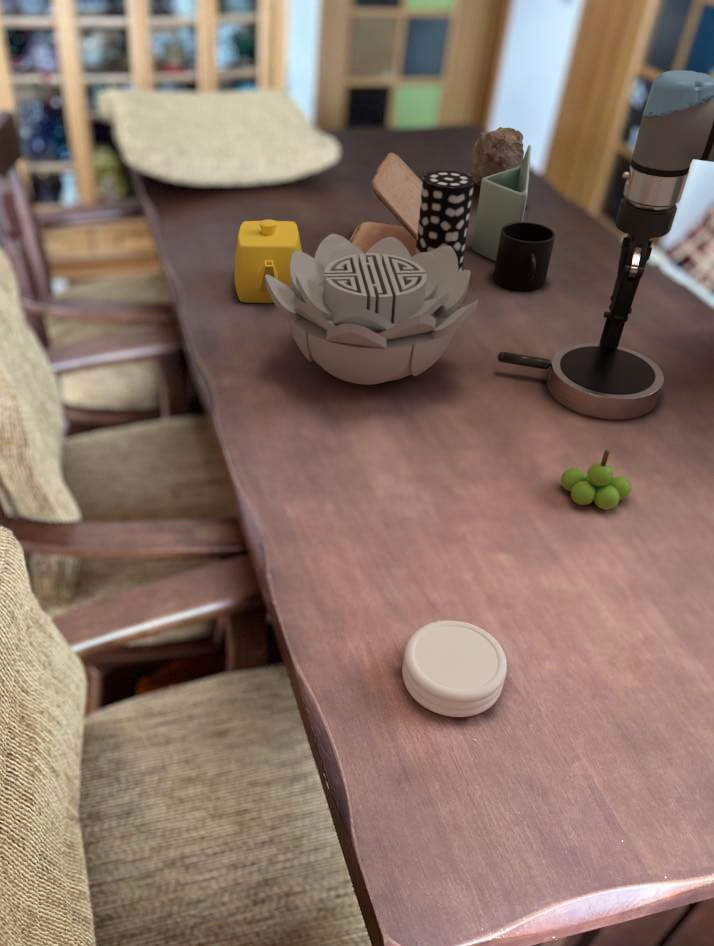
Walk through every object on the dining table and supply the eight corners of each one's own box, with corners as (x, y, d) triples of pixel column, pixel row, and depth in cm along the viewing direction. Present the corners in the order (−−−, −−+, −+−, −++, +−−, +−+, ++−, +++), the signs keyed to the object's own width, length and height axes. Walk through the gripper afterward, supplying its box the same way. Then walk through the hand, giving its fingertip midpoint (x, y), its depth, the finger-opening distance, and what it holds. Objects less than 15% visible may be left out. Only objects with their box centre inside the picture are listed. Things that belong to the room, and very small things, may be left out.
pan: (656, 372, 127) (663, 352, 125) (656, 428, 116) (664, 406, 114) (501, 348, 133) (505, 327, 130) (486, 399, 121) (490, 377, 119)
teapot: (304, 315, 140) (305, 247, 132) (232, 315, 140) (228, 247, 132) (303, 266, 155) (303, 202, 147) (237, 266, 155) (234, 202, 147)
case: (445, 281, 151) (456, 192, 140) (334, 267, 155) (337, 179, 144) (460, 239, 166) (471, 155, 155) (359, 227, 170) (363, 145, 159)
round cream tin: (502, 727, 78) (508, 704, 76) (397, 711, 79) (400, 688, 77) (502, 647, 85) (507, 625, 83) (406, 634, 86) (409, 611, 84)
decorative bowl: (264, 321, 138) (262, 233, 128) (438, 318, 140) (450, 230, 130) (270, 422, 116) (268, 324, 106) (478, 416, 118) (495, 319, 108)
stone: (532, 213, 177) (546, 138, 167) (488, 215, 176) (500, 140, 166) (499, 178, 193) (510, 108, 183) (458, 180, 192) (467, 109, 182)
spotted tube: (465, 291, 148) (482, 176, 134) (446, 309, 142) (462, 191, 129) (423, 281, 151) (435, 167, 138) (403, 298, 146) (414, 181, 132)
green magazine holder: (471, 233, 168) (486, 129, 155) (510, 236, 167) (528, 131, 154) (471, 266, 156) (488, 156, 143) (514, 269, 155) (534, 159, 142)
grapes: (628, 492, 105) (645, 444, 100) (627, 518, 101) (644, 470, 96) (559, 479, 107) (572, 431, 102) (556, 505, 103) (569, 456, 98)
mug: (501, 298, 146) (510, 248, 140) (488, 269, 155) (496, 221, 149) (554, 298, 146) (565, 248, 140) (538, 269, 155) (548, 221, 149)
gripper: (623, 181, 118) (584, 331, 134) (619, 213, 109) (578, 370, 125) (677, 188, 117) (632, 338, 132) (679, 221, 107) (629, 378, 123)
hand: (606, 353), depth 129 cm, fingers closed
